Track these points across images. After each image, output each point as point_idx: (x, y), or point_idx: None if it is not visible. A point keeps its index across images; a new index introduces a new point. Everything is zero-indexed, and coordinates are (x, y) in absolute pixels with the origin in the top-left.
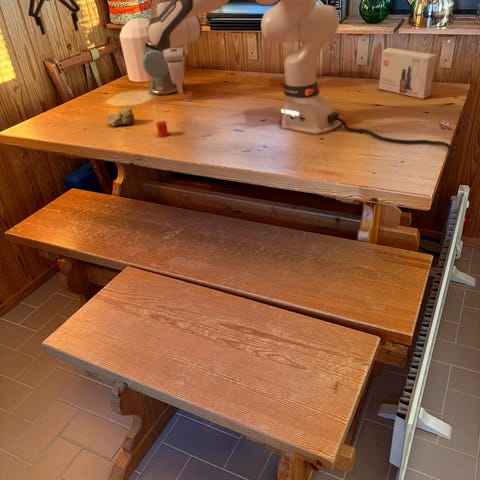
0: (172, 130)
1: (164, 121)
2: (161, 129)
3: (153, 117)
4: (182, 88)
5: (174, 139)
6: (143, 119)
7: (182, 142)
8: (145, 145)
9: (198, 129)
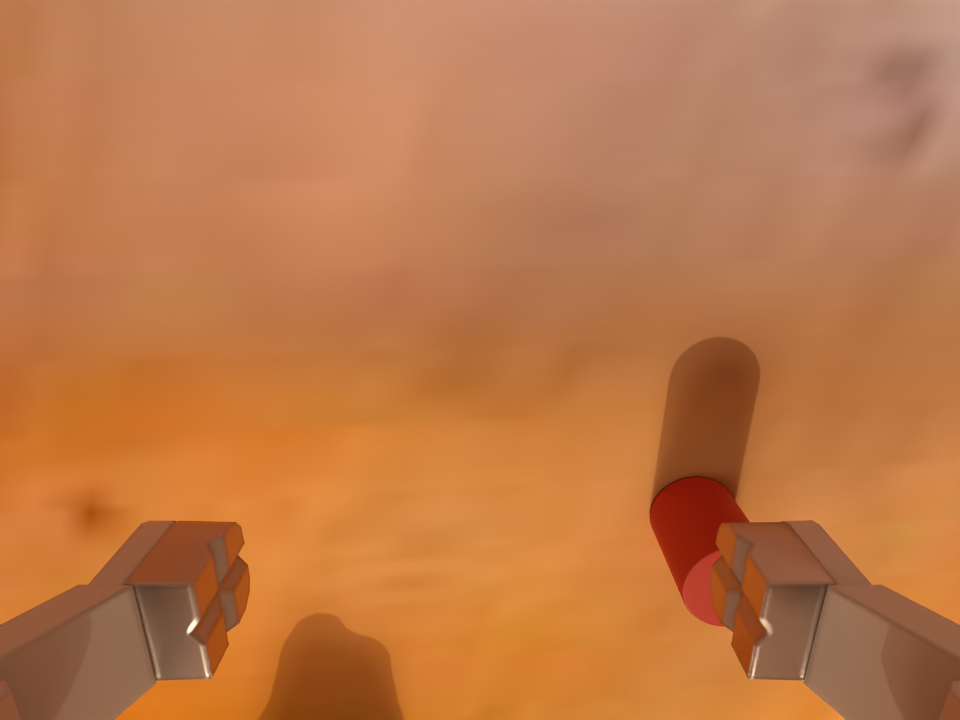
0: (611, 444)
1: (704, 560)
2: None
3: None
4: (844, 571)
5: (843, 417)
6: (267, 678)
7: (953, 345)
8: None
9: (682, 194)
